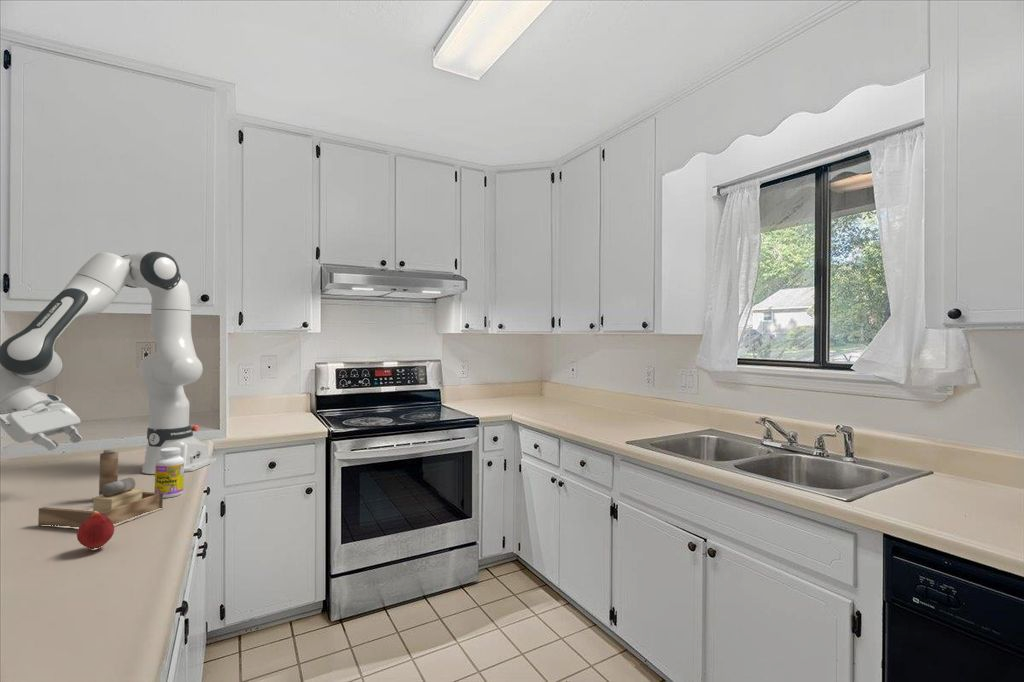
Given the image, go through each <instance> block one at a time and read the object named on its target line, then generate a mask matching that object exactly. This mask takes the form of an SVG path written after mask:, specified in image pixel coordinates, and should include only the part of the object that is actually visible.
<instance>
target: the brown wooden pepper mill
mask: <svg viewBox="0 0 1024 682" xmlns="http://www.w3.org/2000/svg"><path fill="white" fill-rule="evenodd" d="M118 472H119V452H117V451H116V450H115V449H105V450H103V452H101V453H99V477H98V479H99V482H98V483H99V484H98V488H99V489H98V496H99V495H102V491H101V489H102V487H103V485H105V484H108V483H112V482H116V481H119V479H118V477H119V475H118V474H119V473H118Z"/></svg>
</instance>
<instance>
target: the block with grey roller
mask: <svg viewBox="0 0 1024 682" xmlns="http://www.w3.org/2000/svg"><path fill="white" fill-rule="evenodd" d="M135 487H136V481H135V479H134V478H133V477H127V478H124V479H123V478H122V479H120V480H119V479H118V481H116V482H112V483H108V484H105V485H103V487H102V489H101V491H102V494H103V495H99V494H98V495H95V496H93V497H91V501H93V503H92V507H93V511H98V512H105V511H108V510H111V509H114V508H117V507H120V506H123V505H126V504H129V503H131V502H134V501H137V500H140V499H142V492H145V491H144V490H145V489H144V488H135Z"/></svg>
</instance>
